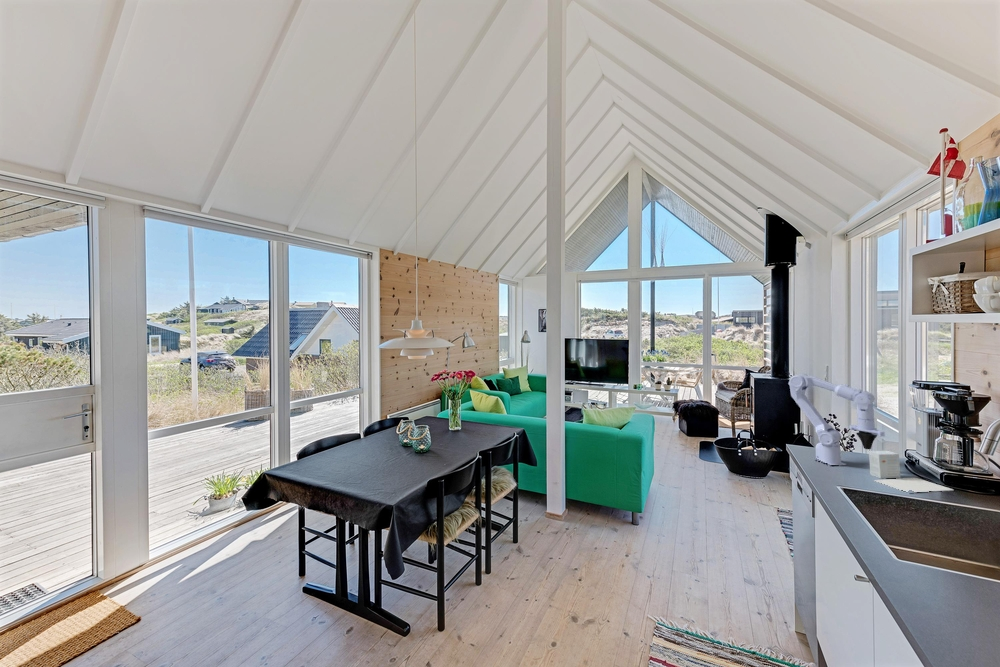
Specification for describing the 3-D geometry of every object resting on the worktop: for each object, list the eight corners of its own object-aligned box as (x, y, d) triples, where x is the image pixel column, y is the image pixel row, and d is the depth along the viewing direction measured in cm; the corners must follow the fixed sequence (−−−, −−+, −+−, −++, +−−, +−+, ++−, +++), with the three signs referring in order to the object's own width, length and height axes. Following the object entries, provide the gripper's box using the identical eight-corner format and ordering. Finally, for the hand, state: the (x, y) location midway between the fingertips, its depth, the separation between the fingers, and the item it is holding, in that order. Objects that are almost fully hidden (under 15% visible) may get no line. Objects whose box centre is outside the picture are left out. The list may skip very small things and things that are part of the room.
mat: (874, 481, 169) (874, 480, 169) (914, 478, 170) (914, 477, 170) (909, 493, 155) (909, 492, 155) (953, 490, 156) (953, 489, 156)
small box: (889, 474, 176) (888, 450, 176) (901, 478, 170) (899, 453, 170) (869, 474, 177) (868, 450, 177) (880, 479, 171) (878, 454, 171)
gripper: (890, 421, 175) (892, 452, 175) (858, 415, 190) (860, 444, 189) (875, 422, 175) (877, 453, 174) (844, 416, 189) (846, 445, 189)
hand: (867, 448), depth 182 cm, fingers closed
